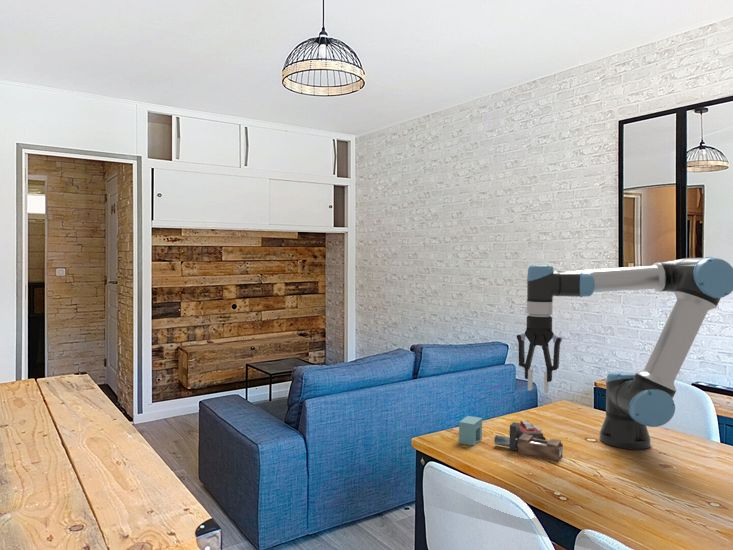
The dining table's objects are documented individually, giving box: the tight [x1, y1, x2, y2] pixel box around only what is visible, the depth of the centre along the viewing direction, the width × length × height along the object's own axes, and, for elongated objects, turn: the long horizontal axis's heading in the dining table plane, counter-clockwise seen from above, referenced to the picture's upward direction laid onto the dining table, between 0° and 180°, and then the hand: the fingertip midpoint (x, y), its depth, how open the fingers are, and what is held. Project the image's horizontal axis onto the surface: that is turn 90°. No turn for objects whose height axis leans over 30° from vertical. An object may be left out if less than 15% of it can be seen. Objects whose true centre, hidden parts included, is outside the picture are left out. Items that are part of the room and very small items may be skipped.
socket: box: [458, 415, 483, 446], centre depth 175 cm, size 5×8×7 cm, turn 149°
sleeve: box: [517, 434, 564, 462], centre depth 164 cm, size 12×6×5 cm, turn 59°
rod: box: [493, 422, 563, 458], centre depth 166 cm, size 20×4×8 cm, turn 59°
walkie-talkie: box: [519, 420, 547, 440], centre depth 184 cm, size 9×4×20 cm
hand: (538, 390), depth 164 cm, fingers open, 4 cm apart
